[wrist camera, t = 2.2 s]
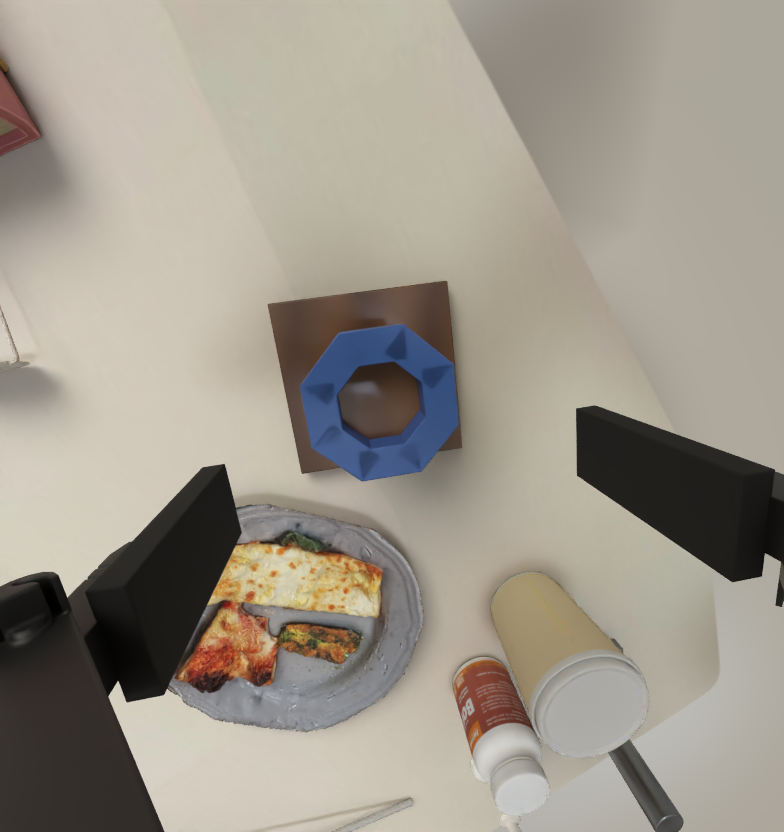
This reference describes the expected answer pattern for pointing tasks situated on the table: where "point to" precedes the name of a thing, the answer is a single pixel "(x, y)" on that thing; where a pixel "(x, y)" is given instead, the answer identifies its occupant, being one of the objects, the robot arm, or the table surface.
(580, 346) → the table surface
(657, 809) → the post
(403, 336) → the ring
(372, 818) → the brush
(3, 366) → the eyeglasses
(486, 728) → the pill bottle
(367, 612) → the food plate
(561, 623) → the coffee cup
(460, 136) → the table surface
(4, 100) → the book
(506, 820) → the chess piece
